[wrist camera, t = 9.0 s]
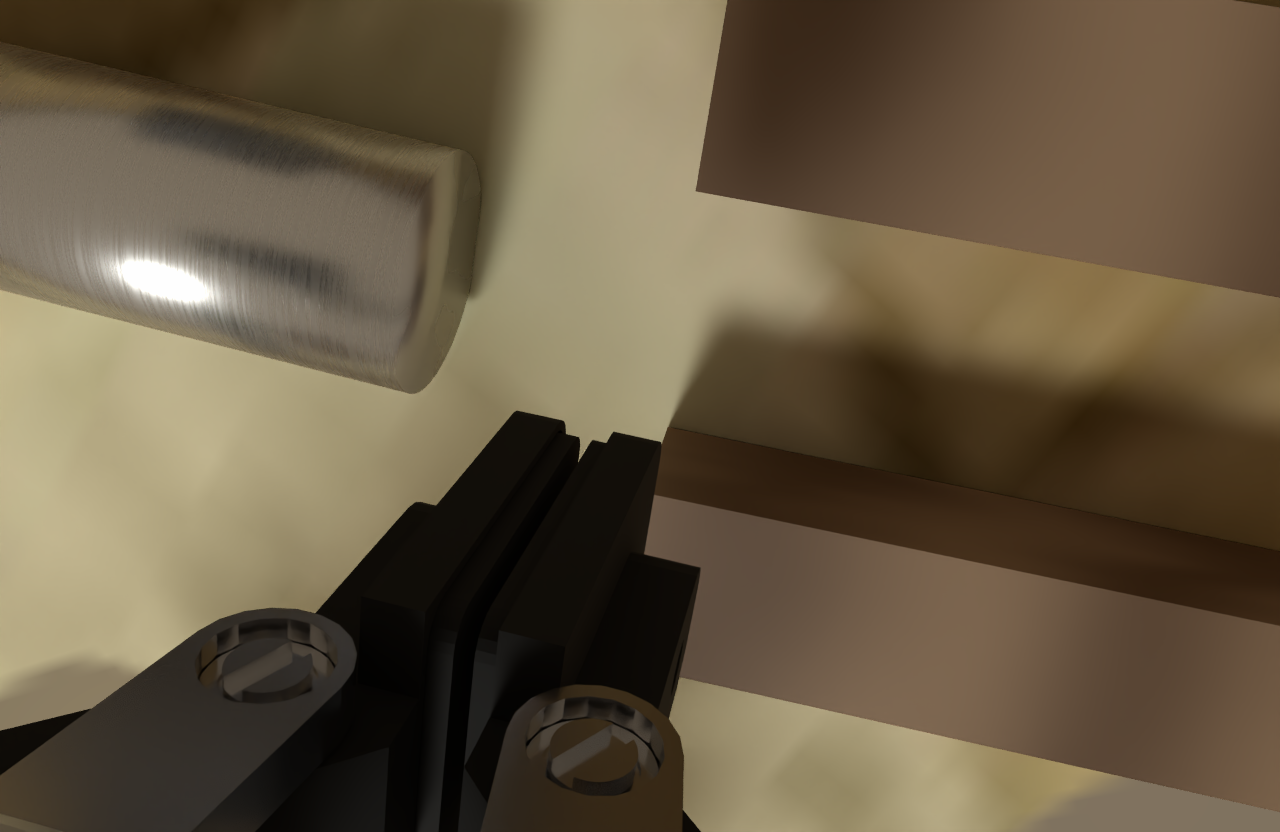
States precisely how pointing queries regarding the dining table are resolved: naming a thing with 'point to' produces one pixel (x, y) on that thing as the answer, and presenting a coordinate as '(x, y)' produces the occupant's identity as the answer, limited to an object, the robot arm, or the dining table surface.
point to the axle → (233, 220)
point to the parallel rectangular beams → (967, 518)
